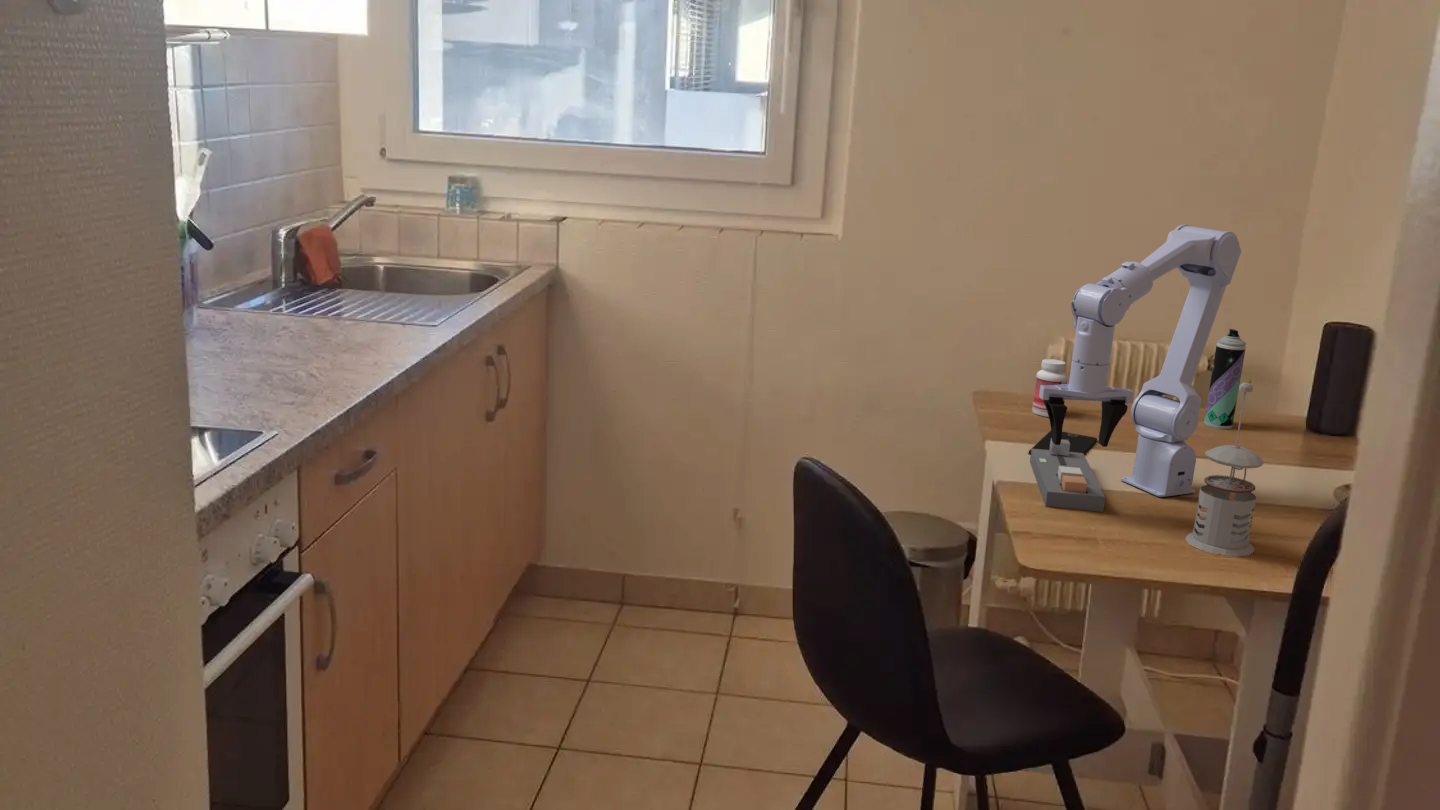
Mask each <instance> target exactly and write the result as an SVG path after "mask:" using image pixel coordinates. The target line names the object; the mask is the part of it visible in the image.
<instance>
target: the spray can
mask: <svg viewBox="0 0 1440 810" xmlns="http://www.w3.org/2000/svg"><path fill="white" fill-rule="evenodd" d="M1246 344H1247V343H1246V342H1245V341H1244V340H1242V339H1241V336H1240V334H1239V331H1238V330H1237V329H1234V328H1229V330H1228V333H1227V334H1225V335H1224V336H1223V337H1221V338H1218V339H1217V343H1216V346H1215V352H1214V358H1213V365H1212V371H1211V377H1210V383H1209V387H1208V388H1209V389H1208V395H1207V402H1206V407H1205V413H1204V420H1203V425H1204V426H1206V427H1208V428H1211V429H1216V430H1232V429H1233V425H1234V419H1235V413H1236V408H1237V407H1236V406H1237V402H1238V401H1237V400H1238V397H1239V391H1240V390H1239V386H1240V385H1241V377H1242V372H1243V365H1244V362H1245V361H1244V360H1245V356H1246V355H1245V354H1246V353H1245V352H1246V348H1247V347H1246Z"/></svg>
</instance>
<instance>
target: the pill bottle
mask: <svg viewBox="0 0 1440 810" xmlns="http://www.w3.org/2000/svg"><path fill="white" fill-rule="evenodd" d="M1040 367H1041V369H1040V370H1039V371H1037V373H1036V376H1035V382H1034V383H1035V384H1034V392H1033V393H1034V394H1033V399H1032V400H1033V401H1032V407H1031V412H1032V413H1033V414H1034V415H1037V416H1040V417H1045V418H1049V416H1048V412H1047V409H1046V407H1045V404H1044V401H1043V400H1042V399H1041V398H1040V397H1039V392H1040V385H1062V384H1068V375H1067V373H1065V372H1064V371H1065V370H1066V362H1065V361H1064V360H1059V359H1054V358H1053V359H1052V358H1044V359H1042V360H1041V364H1040ZM1063 402H1065V400H1063Z"/></svg>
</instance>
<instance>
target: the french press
mask: <svg viewBox="0 0 1440 810" xmlns="http://www.w3.org/2000/svg"><path fill="white" fill-rule="evenodd" d="M1253 389H1254V387H1253V385H1252V384H1251V383H1250V382H1242V383H1240V385H1239V391H1240V392H1243V397H1242V403H1241V410H1240V417H1239V422H1238V426H1237V427H1238V428H1237V432H1236V433H1237V435H1236V441H1235V444H1234V445H1231V444H1224V445H1219V446H1216V447H1213V448H1211V449H1208V450H1206V451H1205V452H1204V453H1205V454H1204V455H1206V458H1208V460H1210V461H1211V462H1214V463H1216V464H1219V465H1222V466H1227V467H1231V468H1230V475H1226V474H1225V475H1222V474H1211V475H1209V476H1206V477H1204V483H1205V485H1202V486H1200V489H1199V494H1198V500H1197V504H1198V505H1197V507H1196V511H1195V518H1194V524H1193V525H1194V526H1193V530H1192V532H1189V533H1188V534H1186V535H1185V542H1186V543H1188V545H1190V546H1191V545H1192V547H1193V546H1194V548H1195V547H1196V549H1197V548H1198V550H1199V549H1200V551H1203V550H1204V551H1203V552H1206V553H1210V554H1213V555H1218V554H1221V555H1220V556H1224V555H1225V556H1226V557H1238V558H1239V557H1243V556H1244V557H1245V556H1250V555H1251V553H1252V554H1253V552H1255V547H1254V546H1253V545H1252V544H1251V543H1250V542H1249V539H1250V536H1251V529H1252V523H1253V518H1254V513H1255V507H1256V502H1257V501H1256V500H1257V496H1256V495H1255V493H1253V492H1254V491H1256V486H1255V484H1253V482H1251V481H1250V480H1246V478H1247V469H1257V468H1260V467H1262V466H1263V465H1264V462H1265V461H1264V459H1263V458H1262V457H1261V456H1259V455H1258V454H1257V453H1255V452H1253V450H1250V449H1248V448H1246V447H1244V446H1239V445H1238V441H1239V435H1240V430H1241V429H1240V428H1241V423H1242V417H1243V413H1244V412H1243V411H1244V407H1245V401H1246V393H1252V392H1253V391H1254V390H1253ZM1236 470H1238V471H1242V470H1244V473H1243V479H1242V478H1240V477H1235V475H1236V474H1235V472H1236ZM1208 493H1209V494H1208ZM1231 493H1232V494H1234V500H1230V496H1231ZM1210 494H1211V495H1210ZM1201 509H1206V511H1202V510H1201ZM1200 517H1205V519H1201V518H1200ZM1225 556H1224V557H1225Z"/></svg>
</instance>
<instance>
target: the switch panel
mask: <svg viewBox="0 0 1440 810" xmlns="http://www.w3.org/2000/svg"><path fill="white" fill-rule="evenodd" d="M1030 450H1031V455H1030V459H1029V463H1030V467H1031V470H1032V472H1033V475H1034V477H1035V481H1036V483H1037V487H1038V489H1039V492H1040V494H1041V497H1042V502H1043V503H1044V507H1047V508H1057V509H1059V508H1060V509H1070V510H1078V511H1079V510H1082V511H1091V512H1101V513H1103V512H1104V508H1105V503H1106V496H1105V493H1104V491H1103V490H1102V488H1101V486H1100V483H1099V482H1098V479H1097V478H1096V476H1095V474H1094V472H1093V470H1092V468H1091V466H1090V463H1089V462H1088V460H1087V458H1086V456H1085V455H1084V454H1083V453H1076V452H1069V456H1065V455H1054V454H1051V453H1050V451H1049V450H1042V449H1032V448H1031V449H1030ZM1059 466H1064V467H1074V468H1080V470H1081V472H1082V474H1083V476H1082V477H1084V478H1085V480H1086V482H1087V489H1086V493H1078V492H1067V491H1062V488H1061V484H1062V482H1060V481H1058V478H1057V476H1058V469H1059Z"/></svg>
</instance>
